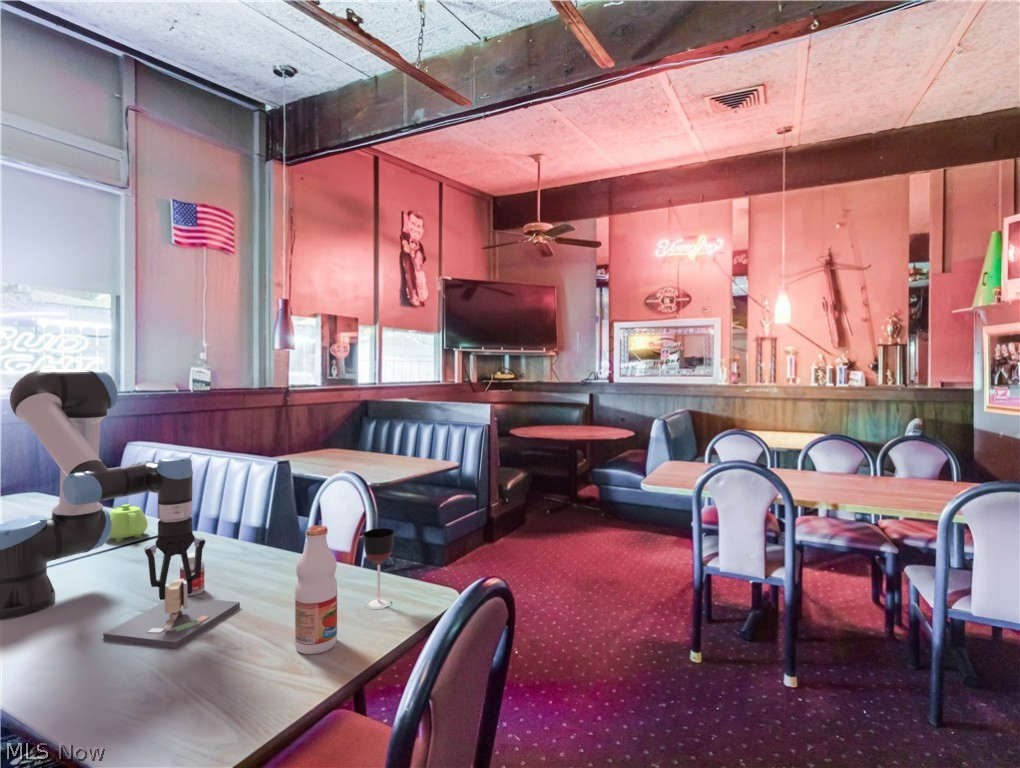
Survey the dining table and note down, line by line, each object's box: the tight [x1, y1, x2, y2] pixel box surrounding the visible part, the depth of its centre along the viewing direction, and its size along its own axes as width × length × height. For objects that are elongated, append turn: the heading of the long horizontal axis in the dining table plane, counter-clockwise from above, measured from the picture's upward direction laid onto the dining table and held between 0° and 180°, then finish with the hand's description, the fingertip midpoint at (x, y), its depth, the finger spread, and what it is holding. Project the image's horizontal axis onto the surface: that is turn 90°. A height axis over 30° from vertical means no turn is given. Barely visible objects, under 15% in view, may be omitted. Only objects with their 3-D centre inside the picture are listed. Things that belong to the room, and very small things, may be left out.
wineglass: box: [363, 527, 395, 607], centre depth 150 cm, size 8×9×20 cm
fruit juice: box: [294, 525, 338, 655], centre depth 127 cm, size 9×9×28 cm
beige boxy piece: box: [164, 578, 184, 631], centre depth 135 cm, size 12×3×8 cm, turn 20°
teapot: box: [109, 503, 148, 543], centre depth 206 cm, size 20×13×13 cm
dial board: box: [102, 596, 241, 649], centre depth 138 cm, size 20×22×2 cm
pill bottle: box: [179, 552, 205, 597], centre depth 156 cm, size 6×6×11 cm
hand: (175, 608), depth 138 cm, fingers closed on beige boxy piece, 3 cm apart
